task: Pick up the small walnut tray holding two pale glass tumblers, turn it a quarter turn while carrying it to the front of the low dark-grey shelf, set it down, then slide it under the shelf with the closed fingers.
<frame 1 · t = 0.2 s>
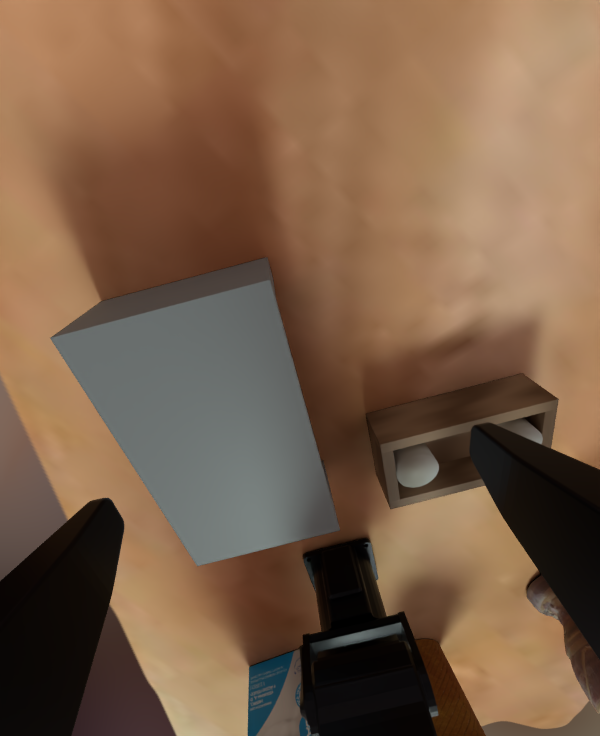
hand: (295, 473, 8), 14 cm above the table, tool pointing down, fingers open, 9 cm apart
disposable coffee cup: (415, 649, 45), on the table
milk carton: (297, 666, 43), on the table
walnut tray: (445, 427, 27), on the table
grey shelf: (232, 400, 24), on the table
mortar and pestle: (561, 571, 39), on the table
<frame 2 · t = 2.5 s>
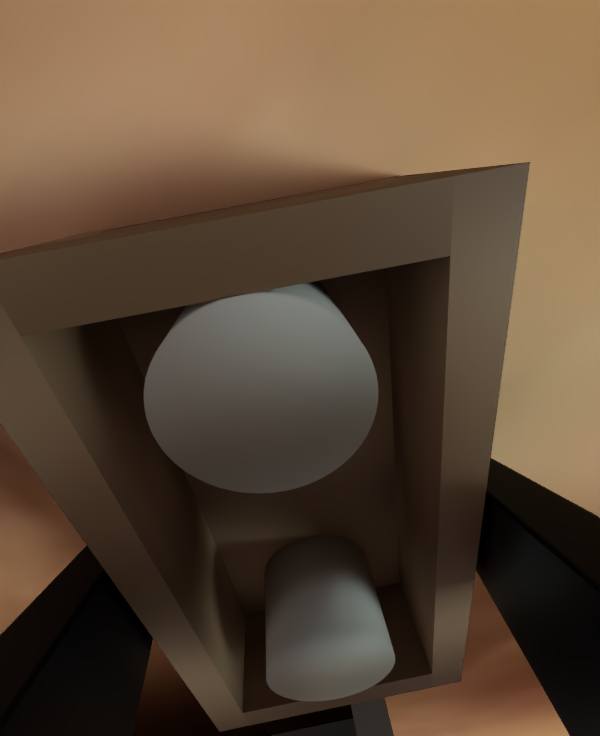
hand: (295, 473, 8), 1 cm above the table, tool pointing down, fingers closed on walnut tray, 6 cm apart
walnut tray: (291, 445, 9), on the table, touching gripper
grey shelf: (193, 718, 16), on the table
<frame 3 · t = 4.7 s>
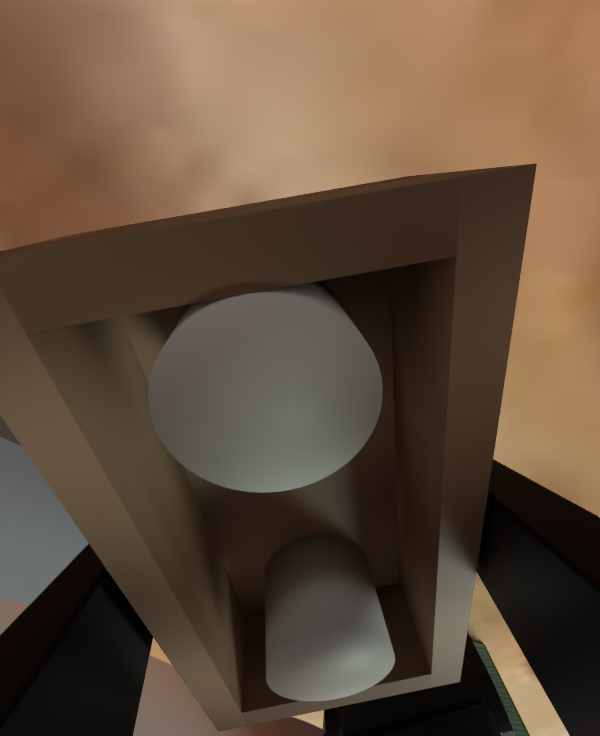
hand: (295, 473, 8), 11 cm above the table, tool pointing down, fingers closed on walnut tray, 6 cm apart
milk carton: (426, 656, 37), on the table
walnut tray: (292, 445, 9), point 10 cm above the table, touching gripper
grey shelf: (85, 459, 21), on the table
when the fingers open (2 cm above the table, at t = 7.1 s): walnut tray drops 1 cm, on the table.
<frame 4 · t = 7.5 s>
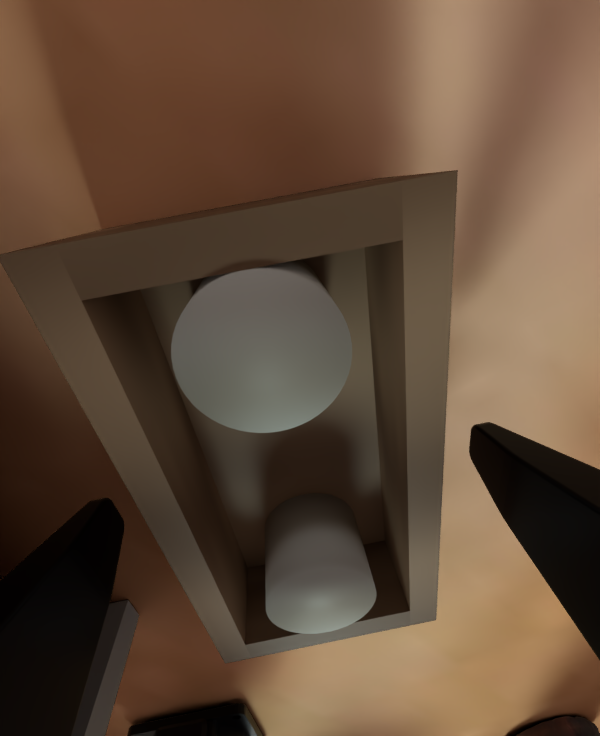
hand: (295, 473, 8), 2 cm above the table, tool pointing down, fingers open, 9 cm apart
walnut tray: (287, 414, 11), on the table
mortar and pestle: (553, 721, 27), on the table
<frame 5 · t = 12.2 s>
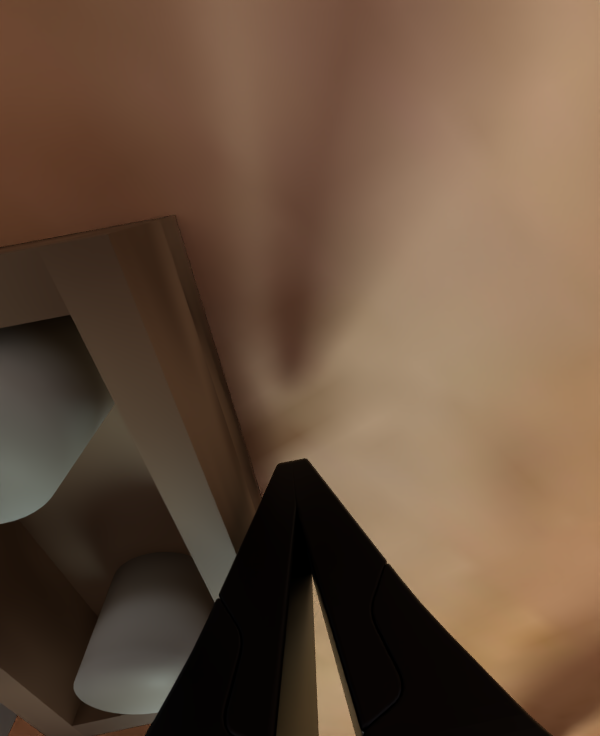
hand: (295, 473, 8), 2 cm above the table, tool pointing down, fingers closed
walnut tray: (131, 465, 10), on the table, touching gripper
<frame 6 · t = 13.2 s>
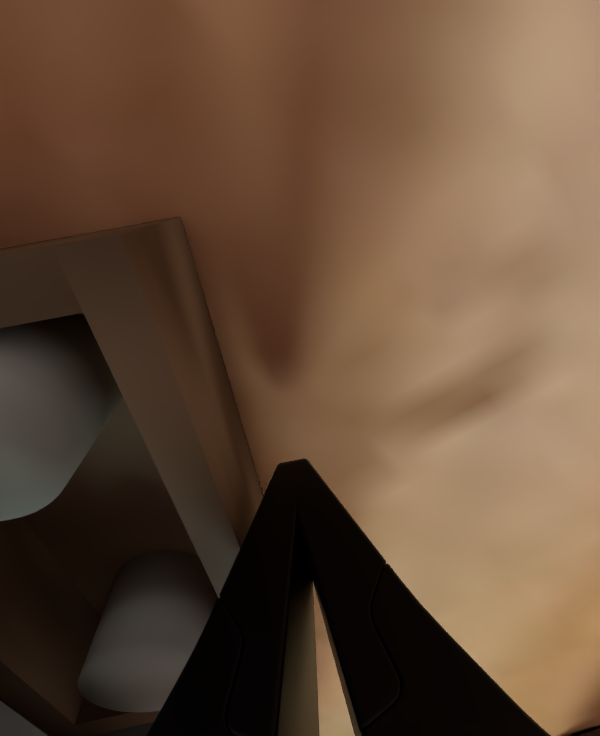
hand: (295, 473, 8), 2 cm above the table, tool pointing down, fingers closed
walnut tray: (134, 464, 10), on the table, touching gripper
mortar and pestle: (593, 731, 26), on the table
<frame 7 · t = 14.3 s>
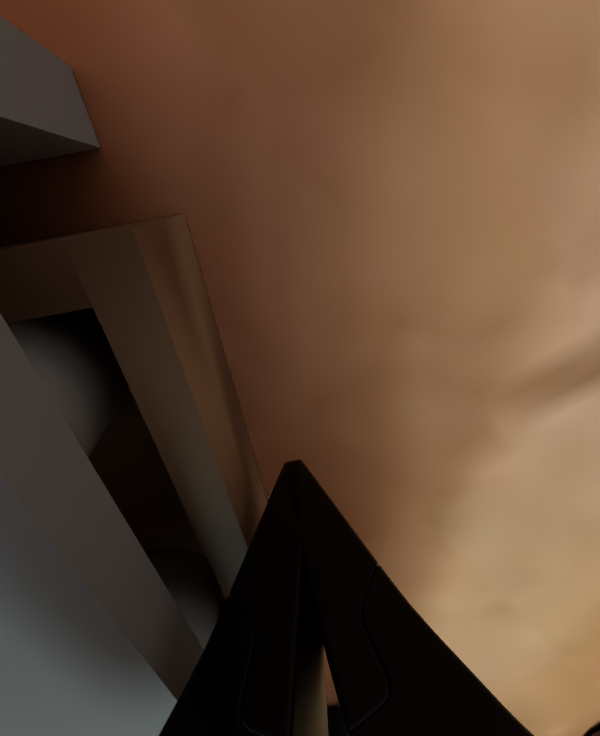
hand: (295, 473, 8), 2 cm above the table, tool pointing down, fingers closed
walnut tray: (136, 463, 10), on the table, touching gripper
grey shelf: (39, 491, 10), on the table
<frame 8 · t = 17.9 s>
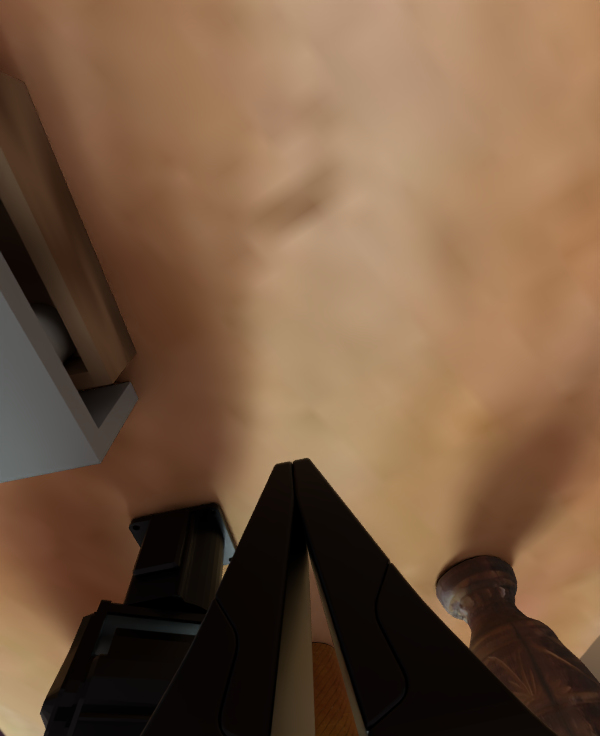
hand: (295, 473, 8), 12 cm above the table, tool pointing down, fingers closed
disposable coffee cup: (307, 655, 37), on the table
walnut tray: (21, 252, 16), on the table
mortar and pestle: (478, 566, 33), on the table
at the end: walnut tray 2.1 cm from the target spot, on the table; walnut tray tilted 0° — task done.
